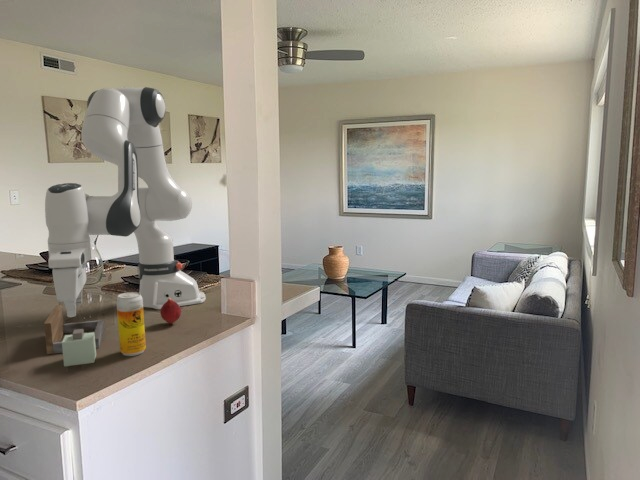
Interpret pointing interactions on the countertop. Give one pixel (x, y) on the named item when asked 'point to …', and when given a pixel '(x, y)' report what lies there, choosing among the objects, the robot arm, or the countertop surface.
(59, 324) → the grey and wood frame
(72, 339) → the cabinet block
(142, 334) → the beer can
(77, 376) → the countertop surface
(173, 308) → the onion
